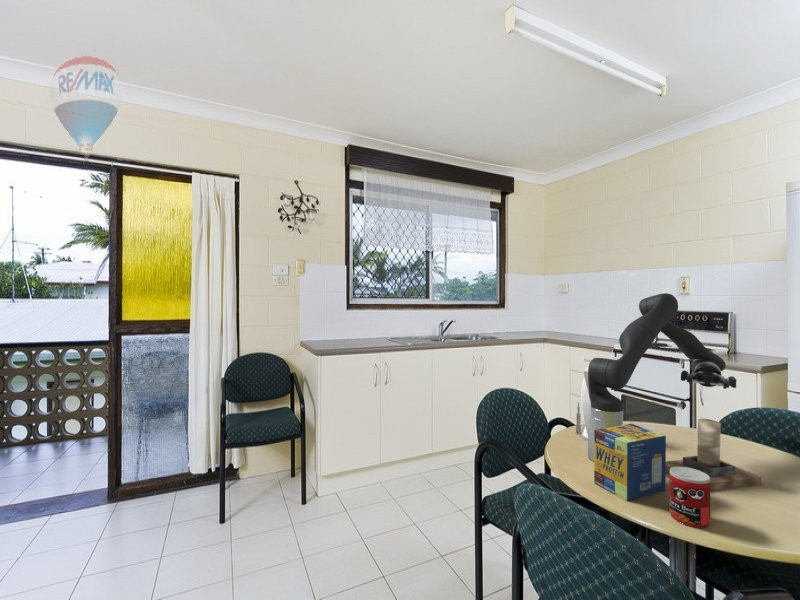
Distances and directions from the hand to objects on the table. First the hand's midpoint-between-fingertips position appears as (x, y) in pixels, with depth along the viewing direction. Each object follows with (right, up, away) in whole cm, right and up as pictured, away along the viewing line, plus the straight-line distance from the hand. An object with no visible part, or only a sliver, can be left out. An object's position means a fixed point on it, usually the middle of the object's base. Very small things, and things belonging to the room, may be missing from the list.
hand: (707, 383), depth 120 cm
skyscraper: (-25, -26, +24) cm, 43 cm away
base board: (-7, -26, -8) cm, 28 cm away
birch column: (-7, -23, -8) cm, 26 cm away
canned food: (-29, -26, -30) cm, 49 cm away
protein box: (-34, -26, -15) cm, 45 cm away
